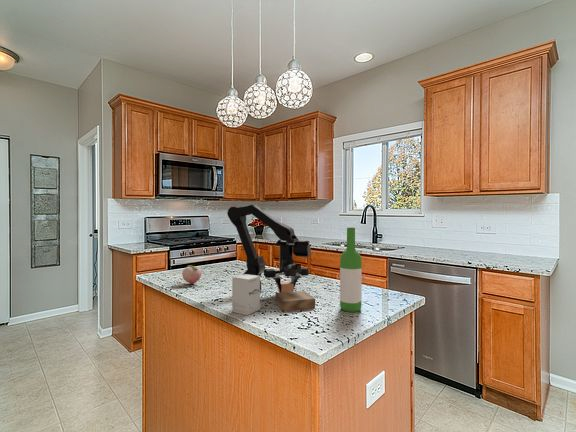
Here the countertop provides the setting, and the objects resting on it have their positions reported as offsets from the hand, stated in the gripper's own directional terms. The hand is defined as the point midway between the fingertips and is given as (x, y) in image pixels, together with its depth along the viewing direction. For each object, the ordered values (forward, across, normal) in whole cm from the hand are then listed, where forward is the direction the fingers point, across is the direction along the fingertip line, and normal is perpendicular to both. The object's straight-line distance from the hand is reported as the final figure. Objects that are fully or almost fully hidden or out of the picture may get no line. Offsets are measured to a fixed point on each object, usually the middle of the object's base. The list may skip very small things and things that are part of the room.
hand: (286, 292), depth 137 cm
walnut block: (+2, -1, -15) cm, 15 cm away
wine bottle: (+1, +17, -26) cm, 31 cm away
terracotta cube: (+1, 0, 0) cm, 1 cm away
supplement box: (+1, -20, -17) cm, 26 cm away
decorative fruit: (+1, -39, +31) cm, 50 cm away
